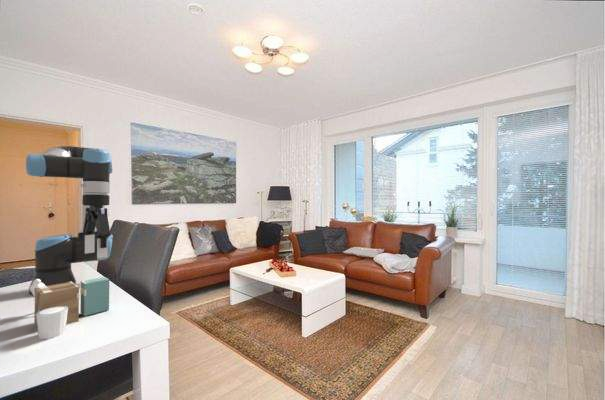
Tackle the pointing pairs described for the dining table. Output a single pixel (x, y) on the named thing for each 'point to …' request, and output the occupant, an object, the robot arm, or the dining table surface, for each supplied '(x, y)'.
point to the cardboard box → (58, 299)
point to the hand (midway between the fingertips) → (95, 255)
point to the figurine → (36, 286)
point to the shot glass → (52, 322)
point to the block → (94, 296)
